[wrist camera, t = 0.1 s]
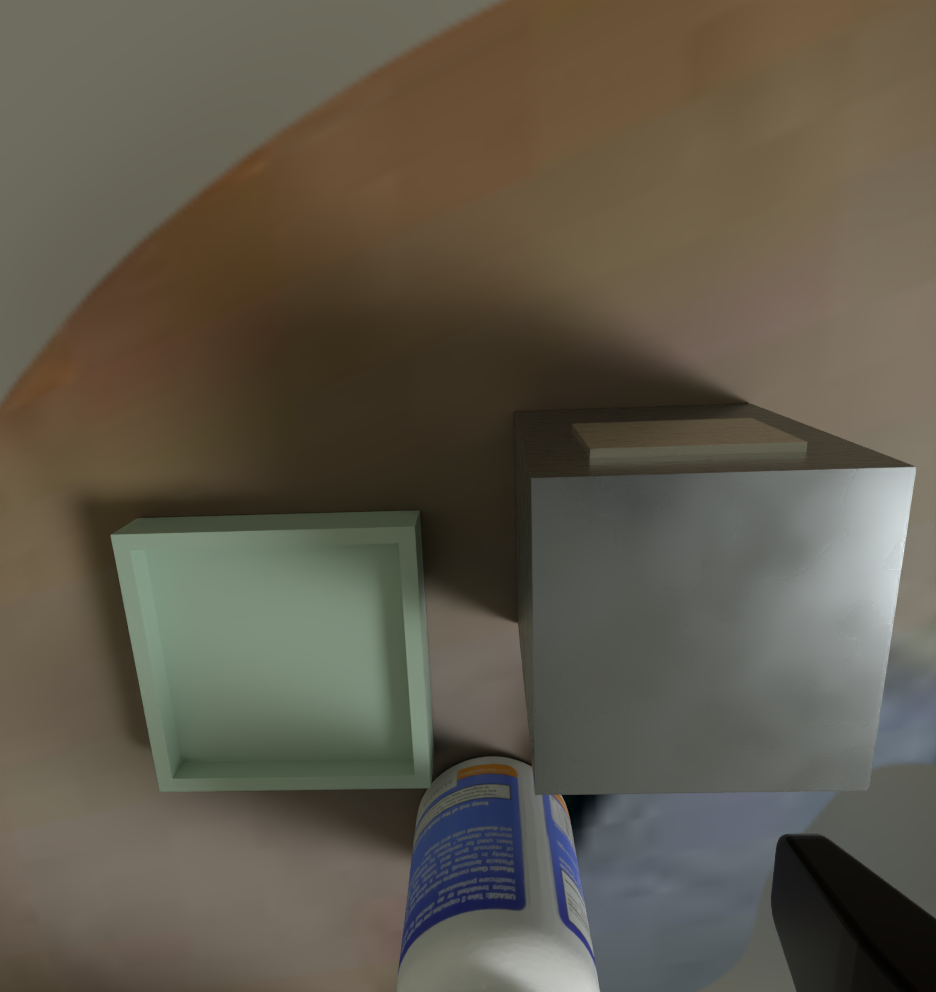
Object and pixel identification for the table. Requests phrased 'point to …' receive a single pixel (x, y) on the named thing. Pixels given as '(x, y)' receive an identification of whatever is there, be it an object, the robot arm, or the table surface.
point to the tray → (281, 649)
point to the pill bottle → (494, 888)
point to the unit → (703, 599)
